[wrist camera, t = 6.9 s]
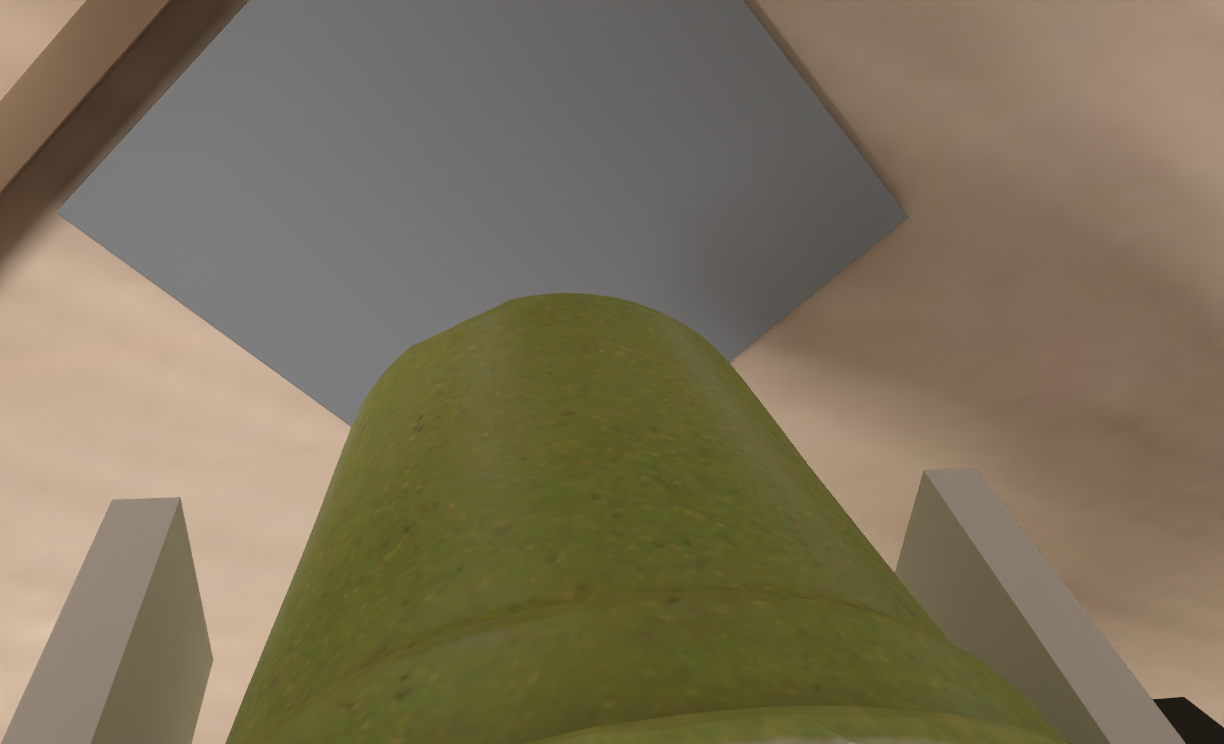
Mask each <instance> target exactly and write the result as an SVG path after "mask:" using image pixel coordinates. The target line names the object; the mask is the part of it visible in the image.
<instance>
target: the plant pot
mask: <svg viewBox="0 0 1224 744" xmlns="http://www.w3.org/2000/svg"><path fill="white" fill-rule="evenodd" d="M226 744H1072V743H1069V742H1066V741H1065V740H1064V739H1063V738H1062V737H1061V736H1060V735H1059V733H1058V732H1057V731H1056V730H1055V729H1054V728H1053V727H1052V726H1051V725H1050V723H1049V722H1048V721H1047V720H1046V719H1045V718H1044V717H1043V716H1042V714H1041V713H1040V712H1039V711H1038V710H1037V709H1036V708H1035V707H1034V706H1033V705H1032V704H1031V703H1030V702H1029V701H1028V700H1027V699H1026V698H1025V697H1024V696H1023V695H1022V694H1021V693H1020V692H1019V691H1018V690H1017V689H1016V688H1015V687H1014V686H1013V685H1012V684H1010V683H1009V682H1008V681H1007V680H1006V679H1005V678H1004V677H1002V676H1001V675H1000V674H998V673H997V672H996V671H994V670H993V669H992V668H990V667H989V666H988V665H986V664H985V663H984V662H982V661H981V660H980V659H979V658H977V657H975V656H973V655H971V654H969V653H967V652H966V651H964V650H962V649H960V648H958V647H956V646H954V645H953V644H952V643H951V642H950V641H949V639H948V638H947V637H946V636H945V635H944V633H943V632H942V631H941V630H940V628H939V627H938V626H937V625H936V624H935V622H934V621H933V620H932V619H931V617H930V616H929V615H928V614H927V613H926V611H925V610H924V609H923V608H922V607H921V605H920V604H919V603H918V602H917V600H916V599H915V598H914V597H913V596H912V594H911V593H910V592H909V591H908V589H907V588H906V587H905V586H904V584H903V583H902V582H901V581H900V579H899V578H898V577H897V576H896V574H895V573H894V572H893V571H892V569H891V568H890V567H889V566H888V564H887V563H886V562H885V561H884V559H883V558H882V557H881V556H880V554H879V553H878V552H877V551H876V549H875V548H874V547H873V546H872V545H871V543H870V542H869V541H868V540H867V538H866V537H865V536H864V535H863V533H862V532H861V531H860V529H859V528H858V527H857V526H856V524H855V523H854V522H853V521H852V519H851V518H850V517H849V516H848V514H847V513H846V512H845V511H844V509H843V508H842V507H841V506H840V504H839V503H838V502H837V501H836V499H835V498H834V497H833V496H832V494H831V493H830V492H829V490H828V489H827V488H826V487H825V485H824V484H823V483H822V482H821V480H820V479H819V478H818V477H817V475H816V474H815V473H814V472H813V470H812V469H811V468H810V467H809V465H808V464H807V463H806V461H805V460H804V459H803V457H802V456H801V455H800V453H799V452H798V451H797V449H796V448H795V447H794V445H793V444H792V443H791V441H790V440H789V439H788V437H787V436H786V435H785V433H784V432H783V431H782V429H781V428H780V427H779V425H778V424H777V423H776V421H775V420H774V419H773V418H772V416H771V415H770V414H769V412H768V411H767V410H766V408H765V407H764V406H763V405H762V403H761V402H760V401H759V399H758V398H757V397H756V396H755V394H754V393H753V392H752V390H751V389H750V388H749V386H748V385H747V384H746V383H745V381H744V380H743V379H742V377H741V376H740V375H739V374H738V373H737V372H736V370H735V369H734V368H733V367H732V366H731V364H730V363H729V362H728V361H727V360H726V359H725V358H724V356H723V355H722V354H721V353H720V352H719V351H718V350H717V349H716V348H715V347H714V346H712V345H711V344H710V343H709V342H708V341H707V340H706V339H704V338H703V337H702V336H701V335H699V334H698V333H697V332H695V331H694V330H693V329H691V328H689V327H687V326H686V325H684V324H682V323H681V322H679V321H677V320H675V319H673V318H671V317H669V316H667V315H665V314H663V313H661V312H659V311H657V310H654V309H652V308H649V307H646V306H643V305H640V304H638V303H635V302H632V301H628V300H624V299H619V298H614V297H609V296H601V295H594V294H584V293H551V294H542V295H532V296H526V297H521V298H517V299H512V300H509V301H506V302H505V303H503V304H501V305H499V306H497V307H495V308H493V309H490V310H488V311H486V312H484V313H482V314H480V315H478V316H475V317H473V318H470V319H468V320H465V321H463V322H461V323H460V324H458V325H456V326H454V327H452V328H450V329H448V330H446V331H444V332H441V333H439V334H437V335H435V336H433V337H431V338H428V339H426V340H424V341H422V342H419V343H417V344H415V345H413V346H411V347H410V348H409V349H407V350H406V351H405V352H404V353H403V354H402V355H401V356H400V357H399V358H397V359H396V360H395V361H394V362H393V363H392V364H391V365H390V366H389V367H388V368H387V369H386V371H385V372H384V373H383V374H382V375H381V377H380V378H379V379H378V381H377V382H376V384H375V385H374V387H373V388H372V389H371V391H370V392H369V394H368V395H367V396H366V398H365V399H364V401H363V403H362V405H361V407H360V408H359V410H358V412H357V415H356V417H355V419H354V422H353V424H352V427H351V430H350V433H349V435H348V438H347V440H346V442H345V445H344V447H343V450H342V453H341V455H340V458H339V461H338V463H337V466H336V469H335V471H334V474H333V477H332V479H331V482H330V485H329V487H328V490H327V493H326V495H325V498H324V501H323V504H322V507H321V509H320V512H319V514H318V517H317V519H316V522H315V524H314V527H313V529H312V532H311V535H310V537H309V540H308V542H307V545H306V547H305V550H304V552H303V555H302V557H301V560H300V562H299V565H298V567H297V569H296V572H295V574H294V577H293V579H292V582H291V584H290V586H289V589H288V591H287V594H286V596H285V599H284V601H283V604H282V606H281V608H280V611H279V613H278V616H277V618H276V621H275V623H274V625H273V628H272V630H271V633H270V635H269V638H268V640H267V643H266V645H265V647H264V650H263V652H262V655H261V657H260V660H259V662H258V664H257V667H256V669H255V672H254V674H253V676H252V679H251V681H250V684H249V686H248V688H247V691H246V693H245V696H244V698H243V701H242V703H241V706H240V708H239V711H238V713H237V716H236V718H235V721H234V723H233V726H232V728H231V731H230V734H229V736H228V739H227V741H226Z"/></svg>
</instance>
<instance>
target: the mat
mask: <svg viewBox="0 0 1224 744" xmlns="http://www.w3.org/2000/svg"><path fill="white" fill-rule="evenodd" d="M56 213H57V214H59V215H60V216H61V217H63V218H64V219H66V220H67V221H68V222H70V223H71V224H72V225H74V226H75V227H77V228H78V229H79V230H81V231H82V232H83V233H85V234H86V235H88V236H89V237H90V238H92V239H93V240H94V241H96V242H97V243H99V244H100V245H101V246H103V247H104V248H106V249H107V250H108V251H110V252H111V253H112V254H114V255H115V256H117V257H118V258H119V259H121V260H122V261H123V262H125V263H126V264H128V265H129V266H130V267H132V268H133V269H134V270H136V271H137V272H139V273H140V274H141V275H143V276H144V277H146V278H147V279H148V280H150V281H151V282H152V283H154V284H155V285H157V286H158V287H159V288H161V289H162V290H163V291H165V292H166V293H168V294H169V295H170V296H172V297H173V298H174V299H176V300H177V301H179V302H180V303H181V304H183V305H184V306H185V307H187V308H188V309H190V310H191V311H192V312H194V313H195V314H197V315H198V316H199V317H201V318H202V319H203V320H205V321H206V322H208V323H209V324H210V325H212V326H213V327H214V328H216V329H217V330H219V331H220V332H221V333H223V334H224V335H225V336H227V337H228V338H230V339H231V340H232V341H234V342H235V343H236V344H238V345H239V346H241V347H242V348H243V349H245V350H246V351H248V352H249V353H250V354H252V355H253V356H254V357H256V358H257V359H259V360H260V361H261V362H263V363H264V364H265V365H267V366H268V367H270V368H271V369H272V370H274V371H275V372H276V373H278V374H279V375H281V376H282V377H283V378H285V379H286V380H287V381H289V382H290V383H292V384H293V385H294V386H296V387H297V388H299V389H300V390H301V391H303V392H304V393H305V394H307V395H308V396H310V397H311V398H312V399H314V400H315V401H316V402H318V403H319V404H321V405H322V406H323V407H325V408H326V409H327V410H329V411H330V412H332V413H333V414H334V415H336V416H337V417H339V418H340V419H341V420H343V421H344V422H345V423H347V424H348V425H350V426H351V427H352V424H353V422H354V419H355V417H356V415H357V412H358V410H359V408H360V407H361V405H362V403H363V401H364V399H365V398H366V396H367V395H368V394H369V392H370V391H371V389H372V388H373V387H374V385H375V384H376V382H377V381H378V379H379V378H380V377H381V375H382V374H383V373H384V372H385V371H386V369H387V368H388V367H389V366H390V365H391V364H392V363H393V362H394V361H395V360H396V359H397V358H399V357H400V356H401V355H402V354H403V353H404V352H405V351H406V350H407V349H409V348H410V347H411V346H413V345H415V344H417V343H419V342H422V341H424V340H426V339H428V338H431V337H433V336H435V335H437V334H439V333H441V332H444V331H446V330H448V329H450V328H452V327H454V326H456V325H458V324H460V323H461V322H463V321H465V320H468V319H470V318H473V317H475V316H478V315H480V314H482V313H484V312H486V311H488V310H490V309H493V308H495V307H497V306H499V305H501V304H503V303H505V302H506V301H509V300H512V299H517V298H521V297H526V296H532V295H542V294H551V293H584V294H594V295H601V296H609V297H614V298H619V299H624V300H628V301H632V302H635V303H638V304H640V305H643V306H646V307H649V308H652V309H654V310H657V311H659V312H661V313H663V314H665V315H667V316H669V317H671V318H673V319H675V320H677V321H679V322H681V323H682V324H684V325H686V326H687V327H689V328H691V329H693V330H694V331H695V332H697V333H698V334H699V335H701V336H702V337H703V338H704V339H706V340H707V341H708V342H709V343H710V344H711V345H712V346H714V347H715V348H716V349H717V350H718V351H719V352H720V353H721V354H722V355H723V356H724V358H725V359H726V360H727V361H728V362H729V361H730V360H731V359H733V358H734V357H735V356H736V355H738V354H739V353H740V352H741V351H743V350H744V349H745V348H746V347H748V346H749V345H750V344H751V343H753V342H754V341H755V340H756V339H758V338H759V337H760V336H761V335H763V334H764V333H765V332H766V331H768V330H769V329H770V328H771V327H773V326H774V325H775V324H776V323H778V322H779V321H780V320H781V319H783V318H784V317H785V316H786V315H788V314H789V313H790V312H791V311H793V310H794V309H795V308H796V307H798V306H799V305H800V304H801V303H802V302H804V301H805V300H806V299H807V298H809V297H810V296H811V295H812V294H814V293H815V292H816V291H817V290H819V289H820V288H821V287H822V286H824V285H825V284H826V283H827V282H829V281H830V280H831V279H832V278H834V277H835V276H836V275H837V274H839V273H840V272H841V271H842V270H844V269H845V268H846V267H847V266H849V265H850V264H851V263H852V262H854V261H855V260H856V259H857V258H859V257H860V256H861V255H862V254H864V253H865V252H866V251H867V250H869V249H870V248H871V247H872V246H874V245H875V244H876V243H877V242H878V241H880V240H881V239H882V238H883V237H885V236H886V235H887V234H888V233H890V232H891V231H892V230H893V229H895V228H896V227H897V226H898V225H900V224H901V223H902V222H903V221H905V220H906V219H907V218H908V215H907V214H906V213H905V211H904V210H903V209H902V207H901V206H900V205H899V203H898V202H897V201H896V200H895V198H894V197H893V196H892V194H891V193H890V192H889V190H888V189H887V188H886V186H885V185H884V184H883V183H882V181H881V180H880V179H879V177H878V176H877V175H876V173H875V172H874V171H873V169H872V168H871V167H870V166H869V164H868V163H867V162H866V160H865V159H864V158H863V156H862V155H861V154H860V152H859V151H858V150H857V148H856V147H855V146H854V145H853V143H852V142H851V141H850V139H849V138H848V137H847V135H846V134H845V133H844V131H843V130H842V129H841V128H840V126H839V125H838V124H837V122H836V121H835V120H834V118H833V117H832V116H831V114H830V113H829V112H828V111H827V109H826V108H825V107H824V105H823V104H822V103H821V101H820V100H819V99H818V97H817V96H816V95H815V93H814V92H813V91H812V90H811V88H810V87H809V86H808V84H807V83H806V82H805V80H804V79H803V78H802V76H801V75H800V74H799V73H798V71H797V70H796V69H795V67H794V66H793V65H792V63H791V62H790V61H789V59H788V58H787V57H786V56H785V54H784V53H783V52H782V50H781V49H780V48H779V46H778V45H777V44H776V42H775V41H774V40H773V38H772V37H771V36H770V35H769V33H768V32H767V31H766V29H765V28H764V27H763V25H762V24H761V23H760V21H759V20H758V19H757V18H756V16H755V15H754V14H753V12H752V11H751V10H750V8H749V7H748V6H747V4H746V3H745V2H744V1H743V0H249V1H248V2H247V3H246V4H245V5H244V6H243V7H242V8H241V10H240V11H239V12H238V13H237V14H236V15H235V16H234V17H233V18H232V19H231V21H230V22H229V23H228V24H227V25H226V26H225V27H224V28H223V29H222V30H221V31H220V33H219V34H218V35H217V36H216V37H215V38H214V39H213V40H212V41H211V42H210V44H209V45H208V46H207V47H206V48H205V49H204V50H203V51H202V52H201V53H200V55H199V56H198V57H197V58H196V59H195V60H194V61H193V62H192V63H191V64H190V65H189V67H188V68H187V69H186V70H185V71H184V72H183V73H182V74H181V75H180V76H179V78H178V79H177V80H176V81H175V82H174V83H173V84H172V85H171V86H170V87H169V88H168V90H167V91H166V92H165V93H164V94H163V95H162V96H161V97H160V98H159V99H158V101H157V102H156V103H155V104H154V105H153V106H152V107H151V108H150V109H149V110H148V112H147V113H146V114H145V115H144V116H143V117H142V118H141V119H140V120H139V121H138V122H137V124H136V125H135V126H134V127H133V128H132V129H131V130H130V131H129V132H128V133H127V135H126V136H125V137H124V138H123V139H122V140H121V141H120V142H119V143H118V144H117V145H116V147H115V148H114V149H113V150H112V151H111V152H110V153H109V154H108V155H107V156H106V158H105V159H104V160H103V161H102V162H101V163H100V164H99V165H98V166H97V167H96V169H95V170H94V171H93V172H92V173H91V174H90V175H89V176H88V177H87V178H86V179H85V181H84V182H83V183H82V184H81V185H80V186H79V187H78V188H77V189H76V190H75V192H74V193H73V194H72V195H71V196H70V197H69V198H68V199H67V200H66V201H65V202H64V204H63V205H62V206H61V207H60V208H59V209H58V210H57V212H56Z"/></svg>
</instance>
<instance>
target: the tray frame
mask: <svg viewBox="0 0 1224 744" xmlns="http://www.w3.org/2000/svg"><path fill="white" fill-rule="evenodd" d="M172 2H173V0H86V2H85V3H84V4H83V5H82V6H81V7H80V9H79V10H78V11H77V12H76V13H75V14H74V16H73V17H72V18H71V19H70V20H69V22H68V23H67V24H66V25H65V26H64V27H63V29H62V30H61V31H60V32H59V33H58V34H57V36H56V37H55V38H54V39H53V40H52V41H51V43H50V44H49V45H48V46H47V47H46V48H45V50H44V51H43V52H42V53H41V54H40V55H39V57H38V58H37V59H36V60H35V61H34V62H33V64H32V65H31V66H30V67H29V68H28V70H27V71H26V72H25V73H24V74H23V75H22V77H21V78H20V79H19V80H18V81H17V82H16V84H15V85H14V86H13V87H12V88H11V89H10V91H9V92H8V93H7V94H6V95H5V96H4V98H3V99H2V100H1V101H0V196H1V195H2V194H3V192H4V191H5V190H6V189H7V188H8V187H9V186H10V185H11V183H12V182H13V181H14V180H15V179H16V178H17V177H18V175H19V174H20V173H21V172H22V171H23V170H24V169H25V168H26V166H27V165H28V164H29V163H30V162H31V161H32V160H33V159H34V157H35V156H36V155H37V154H38V153H39V152H40V151H41V150H42V148H43V147H44V146H45V145H46V144H47V143H48V142H49V140H50V139H51V138H52V137H53V136H54V135H55V134H56V133H57V131H58V130H59V129H60V128H61V127H62V126H63V125H64V124H65V122H66V121H67V120H68V119H69V118H70V117H71V116H72V114H73V113H74V112H75V111H76V110H77V109H78V108H79V107H80V105H81V104H82V103H83V102H84V101H85V100H86V99H87V98H88V96H89V95H90V94H91V93H92V92H93V91H94V90H95V89H96V87H97V86H98V85H99V84H100V83H101V82H102V81H103V79H104V78H105V77H106V76H107V75H108V74H109V73H110V72H111V70H112V69H113V68H114V67H115V66H116V65H117V64H118V63H119V61H120V60H121V59H122V58H123V57H124V56H125V55H126V54H127V52H128V51H129V50H130V49H131V48H132V47H133V46H134V44H135V43H136V42H137V41H138V40H139V39H140V38H141V37H142V35H143V34H144V33H145V32H146V31H147V30H148V29H149V28H150V26H151V25H152V24H153V23H154V22H155V21H156V20H157V18H158V17H159V16H160V15H161V14H162V13H163V12H164V11H165V9H166V8H167V7H168V6H169V5H170V4H171V3H172Z"/></svg>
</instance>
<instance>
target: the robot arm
mask: <svg viewBox="0 0 1224 744" xmlns="http://www.w3.org/2000/svg"><path fill="white" fill-rule="evenodd" d="M895 574H896V576H897V577H898V578H899V579H900V581H901V582H902V583H903V584H904V586H905V587H906V588H907V589H908V591H909V592H910V593H911V594H912V596H913V597H914V598H915V599H916V600H917V602H918V603H919V604H920V605H921V607H922V608H923V609H924V610H925V611H926V613H927V614H928V615H929V616H930V617H931V619H932V620H933V621H934V622H935V624H936V625H937V626H938V627H939V628H940V630H941V631H942V632H943V633H944V635H945V636H946V637H947V638H948V639H949V641H950V642H951V643H952V644H953V645H954V646H956V647H958V648H960V649H962V650H964V651H966V652H967V653H969V654H971V655H973V656H975V657H977V658H979V659H980V660H981V661H982V662H984V663H985V664H986V665H988V666H989V667H990V668H992V669H993V670H994V671H996V672H997V673H998V674H1000V675H1001V676H1002V677H1004V678H1005V679H1006V680H1007V681H1008V682H1009V683H1010V684H1012V685H1013V686H1014V687H1015V688H1016V689H1017V690H1018V691H1019V692H1020V693H1021V694H1022V695H1023V696H1024V697H1025V698H1026V699H1027V700H1028V701H1029V702H1030V703H1031V704H1032V705H1033V706H1034V707H1035V708H1036V709H1037V710H1038V711H1039V712H1040V713H1041V714H1042V716H1043V717H1044V718H1045V719H1046V720H1047V721H1048V722H1049V723H1050V725H1051V726H1052V727H1053V728H1054V729H1055V730H1056V731H1057V732H1058V733H1059V735H1060V736H1061V737H1062V738H1063V739H1064V740H1065V741H1066V742H1069V743H1072V744H1224V728H1223V727H1222V726H1221V725H1220V724H1218V723H1217V722H1216V721H1214V720H1213V719H1212V718H1211V717H1209V716H1208V715H1207V714H1205V713H1204V712H1203V711H1201V710H1200V709H1199V708H1198V707H1196V706H1195V705H1194V704H1192V703H1191V702H1190V701H1189V700H1187V699H1186V698H1185V697H1178V698H1165V699H1152V698H1151V697H1150V696H1149V695H1148V693H1147V692H1146V691H1145V689H1144V688H1143V687H1142V685H1141V684H1140V683H1139V681H1138V680H1137V679H1136V677H1135V676H1134V675H1133V673H1132V672H1131V671H1130V670H1129V668H1128V667H1127V666H1126V664H1125V663H1124V662H1123V660H1122V659H1121V658H1120V656H1119V655H1118V654H1117V652H1116V651H1115V650H1114V648H1113V647H1112V646H1111V645H1110V643H1109V642H1108V641H1107V639H1106V638H1105V637H1104V635H1103V634H1102V633H1101V631H1100V630H1099V629H1098V627H1097V626H1096V625H1095V624H1094V622H1093V621H1092V620H1091V618H1090V617H1089V616H1088V614H1087V613H1086V612H1085V610H1084V609H1083V608H1082V606H1081V605H1080V604H1079V602H1078V601H1077V600H1076V599H1075V597H1074V596H1073V595H1072V593H1071V592H1070V591H1069V589H1068V588H1067V587H1066V585H1065V584H1064V583H1063V581H1062V580H1061V579H1060V578H1059V576H1058V575H1057V574H1056V572H1055V571H1054V570H1053V568H1052V567H1051V566H1050V564H1049V563H1048V562H1047V560H1046V559H1045V558H1044V556H1043V555H1042V554H1041V553H1040V551H1039V550H1038V549H1037V547H1036V546H1035V545H1034V543H1033V542H1032V541H1031V539H1030V538H1029V537H1028V535H1027V534H1026V533H1025V532H1024V530H1023V529H1022V528H1021V526H1020V525H1019V524H1018V522H1017V521H1016V520H1015V518H1014V517H1013V516H1012V514H1011V513H1010V512H1009V510H1008V509H1007V508H1006V507H1005V505H1004V504H1003V503H1002V501H1001V500H1000V499H999V497H998V496H997V495H996V493H995V492H994V491H993V489H992V488H991V487H990V485H989V484H988V483H987V482H986V480H985V479H984V478H983V476H982V475H981V474H980V472H979V471H978V470H977V468H976V469H948V470H924V472H923V475H922V479H921V482H920V486H919V489H918V493H917V496H916V500H915V503H914V507H913V510H912V514H911V518H910V521H909V525H908V528H907V532H906V535H905V539H904V542H903V546H902V549H901V553H900V556H899V560H898V564H897V567H896V571H895ZM212 662H213V657H212V652H211V647H210V642H209V637H208V632H207V627H206V622H205V617H204V612H203V607H202V602H201V597H200V592H199V587H198V582H197V578H196V573H195V568H194V563H193V558H192V553H191V548H190V543H189V538H188V533H187V528H186V523H185V518H184V513H183V508H182V503H181V498H180V497H177V498H150V499H122V500H112V501H111V504H110V506H109V508H108V510H107V512H106V514H105V517H104V519H103V521H102V523H101V525H100V528H99V530H98V532H97V534H96V536H95V539H94V541H93V543H92V545H91V547H90V550H89V552H88V554H87V556H86V558H85V560H84V563H83V565H82V567H81V569H80V571H79V574H78V576H77V578H76V580H75V582H74V585H73V587H72V589H71V591H70V593H69V596H68V598H67V600H66V602H65V604H64V606H63V609H62V611H61V613H60V615H59V617H58V620H57V622H56V624H55V626H54V628H53V631H52V633H51V635H50V637H49V639H48V641H47V644H46V646H45V648H44V650H43V652H42V655H41V657H40V659H39V661H38V663H37V666H36V668H35V670H34V672H33V674H32V677H31V679H30V681H29V683H28V685H27V687H26V690H25V692H24V694H23V696H22V698H21V701H20V703H19V705H18V707H17V709H16V712H15V714H14V716H13V718H12V720H11V723H10V725H9V727H8V729H7V731H6V733H5V736H4V738H3V740H2V742H1V744H191V743H192V739H193V735H194V731H195V727H196V723H197V720H198V716H199V712H200V708H201V704H202V700H203V697H204V693H205V689H206V685H207V681H208V677H209V674H210V670H211V666H212Z"/></svg>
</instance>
